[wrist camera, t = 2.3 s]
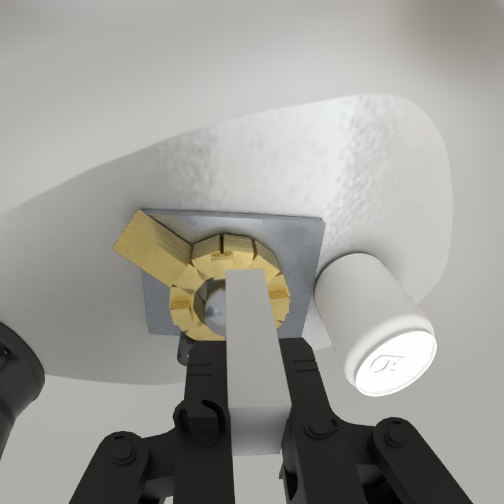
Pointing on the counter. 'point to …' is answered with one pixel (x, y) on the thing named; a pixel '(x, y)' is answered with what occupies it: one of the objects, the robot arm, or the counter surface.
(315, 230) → the plate
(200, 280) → the segmented ring with handle
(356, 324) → the beverage can
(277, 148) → the counter surface
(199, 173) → the counter surface
